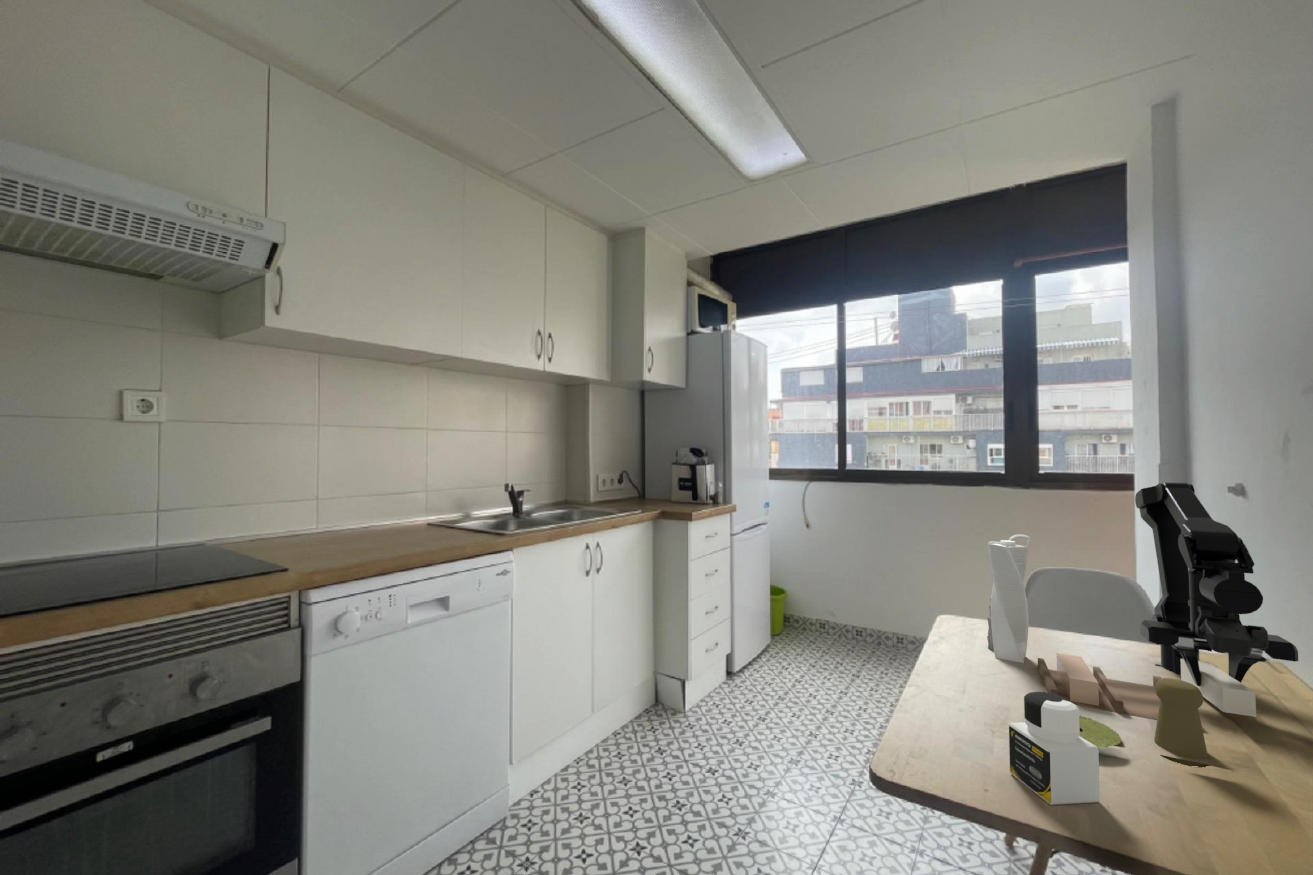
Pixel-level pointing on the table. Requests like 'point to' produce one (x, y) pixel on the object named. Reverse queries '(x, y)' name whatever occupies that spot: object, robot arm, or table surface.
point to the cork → (1180, 721)
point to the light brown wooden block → (1077, 679)
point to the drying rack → (1110, 693)
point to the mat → (1097, 733)
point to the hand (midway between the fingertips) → (1215, 687)
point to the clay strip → (1222, 689)
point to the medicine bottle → (1054, 751)
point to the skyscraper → (1008, 600)
